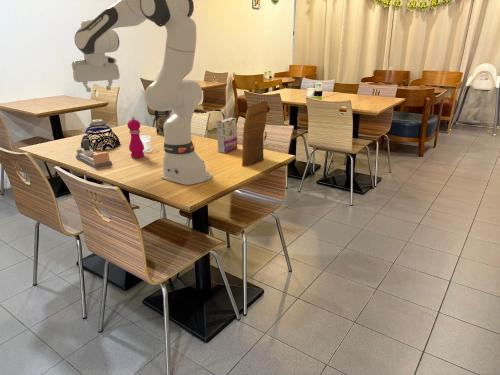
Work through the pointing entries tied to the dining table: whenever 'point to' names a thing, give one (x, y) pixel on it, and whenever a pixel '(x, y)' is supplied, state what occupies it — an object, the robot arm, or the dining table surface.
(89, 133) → the decorative bowl
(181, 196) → the dining table surface
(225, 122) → the candy bar box
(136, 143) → the pepper mill
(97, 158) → the rail board
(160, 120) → the coffee box
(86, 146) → the keeper
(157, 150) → the dining table surface
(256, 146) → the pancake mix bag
